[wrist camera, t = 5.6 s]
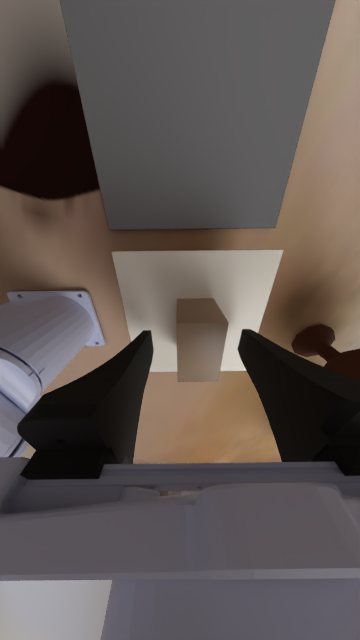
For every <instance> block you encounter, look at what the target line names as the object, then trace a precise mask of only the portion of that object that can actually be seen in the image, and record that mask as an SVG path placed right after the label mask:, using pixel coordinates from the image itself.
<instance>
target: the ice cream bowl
mask: <svg viewBox="0 0 360 640" xmlns="http://www.w3.org/2000/svg"><path fill="white" fill-rule="evenodd" d="M334 340H335V335H334V331H333V330H332V328H330V327H327V326H324V325H322V324H321V325H317V326H313V327H308V328H307V329H305V330H304V331H302V332H301V333H300V334H298V335H297V336H296V338H295V340H294V341H293V343H292V347H293V350H294V352H295V353H297V354H299V355H302V356H305V357H309V356H313V355H320V356H321V357H322V358H324V359H325V360H326V361H327V363H326V365H325V366H324V367H325V368H327V369H330V370H333V371H335V372H338V373H341V374H344V375H347V376H349V377H352V378H355V379H358V380H360V349H356V350H351V351H346V352H342V353H340V352H338V351H337V350H336V349H334V348H333V347H332V346H331V344H332V343H333V341H334Z"/></svg>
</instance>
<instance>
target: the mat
mask: <svg viewBox="0 0 360 640" xmlns="http://www.w3.org/2000/svg"><path fill="white" fill-rule="evenodd" d="M60 4H61V8H62V12H63V18H64V22H65V26H66V32H67V36H68V41H69V45H70V50H71V55H72V60H73V64H74V69H75V73H76V78H77V83H78V88H79V92H80V97H81V102H82V106H83V111H84V116H85V120H86V125H87V130H88V134H89V139H90V144H91V148H92V153H93V158H94V162H95V167H96V172H97V176H98V181H99V185H100V190H101V195H102V200H103V204H104V209H105V214H106V219H107V223H108V228H109V230H146V229H229V228H275V227H276V223H277V219H278V216H279V212H280V208H281V204H282V201H283V197H284V193H285V189H286V185H287V182H288V178H289V174H290V170H291V167H292V163H293V159H294V155H295V151H296V148H297V144H298V140H299V136H300V133H301V129H302V125H303V121H304V117H305V114H306V110H307V106H308V102H309V99H310V95H311V91H312V87H313V83H314V80H315V76H316V72H317V68H318V65H319V61H320V57H321V53H322V49H323V46H324V42H325V38H326V34H327V31H328V27H329V23H330V19H331V15H332V12H333V8H334V4H335V0H60Z"/></svg>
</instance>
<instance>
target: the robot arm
mask: <svg viewBox="0 0 360 640" xmlns="http://www.w3.org/2000/svg"><path fill="white" fill-rule="evenodd" d="M79 294H81V295H82V297H81V296H80V295H79ZM7 297H8V298H9V300H10V301H9V302H7V303H4V304H1V305H0V581H11V580H12V581H14V580H15V581H17V580H18V581H20V580H112V585H111V590H110V595H109V600H108V605H107V610H106V615H105V621H104V626H103V631H102V636H101V640H360V380H358V379H355V378H352V377H349V376H347V375H344V374H341V373H338V372H335V371H333V370H330V369H327V368H325V367H322V366H320V365H317V364H315V363H313V362H310V361H308V360H306V359H304V358H302V357H299V356H297V355H295V354H293V353H291V352H289V351H288V350H286V349H284V348H282V347H280V346H278V345H277V344H275V343H273V342H272V341H270V340H268V339H267V338H265V337H263V336H262V335H260V334H258V333H257V332H255V331H253V330H251V329H242V332H241V337H240V341H239V345H238V349H237V350H238V352H239V355H240V358H241V361H242V363H243V365H244V367H245V369H246V370H247V372H248V374H249V376H250V378H251V380H252V382H253V384H254V386H255V388H256V390H257V392H258V394H259V397H260V399H261V402H262V404H263V407H264V409H265V412H266V415H267V417H268V420H269V423H270V426H271V429H272V431H273V434H274V437H275V440H276V444H277V447H278V450H279V453H280V456H281V460H282V462H259V463H176V464H133V457H134V449H135V442H136V435H137V428H138V422H139V416H140V409H141V404H142V398H143V393H144V389H145V385H146V381H147V378H148V374H149V371H150V367H151V364H152V359H153V352H154V349H153V341H152V334H151V330H143V331H142V332H141V333H140V334H139V335H138V336H137V337H136V338H135V339H134V340H133V341H132V342H131V343H130V344H129V345H128V346H126V347H125V348H124V349H123V350H122V351H120V352H119V353H118V354H117V355H115V356H114V357H113V358H111V359H110V360H109V361H107V362H106V363H104V364H103V365H101V366H99V367H98V368H96V369H95V370H93V371H91V372H90V373H88V374H86V375H84V376H82V377H80V378H78V379H77V380H75V381H73V382H71V383H69V384H66V385H64V386H62V387H60V388H58V389H55V390H53V391H51V392H49V393H46V394H44V395H43V396H42V397H41V396H40V394H41V393H42V392H43V391H44V390H45V389H46V388H47V387H48V385H49V384H50V383H51V382H52V381H53V380H54V379H55V378H56V377H57V376H58V374H59V373H60V372H61V371H62V370H63V369H64V368H65V367H66V366H67V365H68V363H69V362H70V361H71V360H72V359H73V358H74V357H75V356H76V355H77V353H78V352H79V351H80V350H81V349H82V348H83V347H84V346H103V345H104V344H105V339H104V336H103V333H102V330H101V327H100V324H99V321H98V318H97V315H96V312H95V309H94V306H93V303H92V300H91V297H90V294H89V293H88V292H87V291H12V292H8V293H7ZM97 342H98V343H97ZM29 444H30V445H31V446H32V447H33V448H34V449H36V452H35V453H34V454H33V456H32V457H31V459H29V458H25V457H21V456H22V454H23V453H24V452H25V450H26V449H27V447H28V445H29ZM198 490H199V491H201V492H194V493H185V494H177V495H168V496H160V493H159V491H198Z"/></svg>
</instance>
